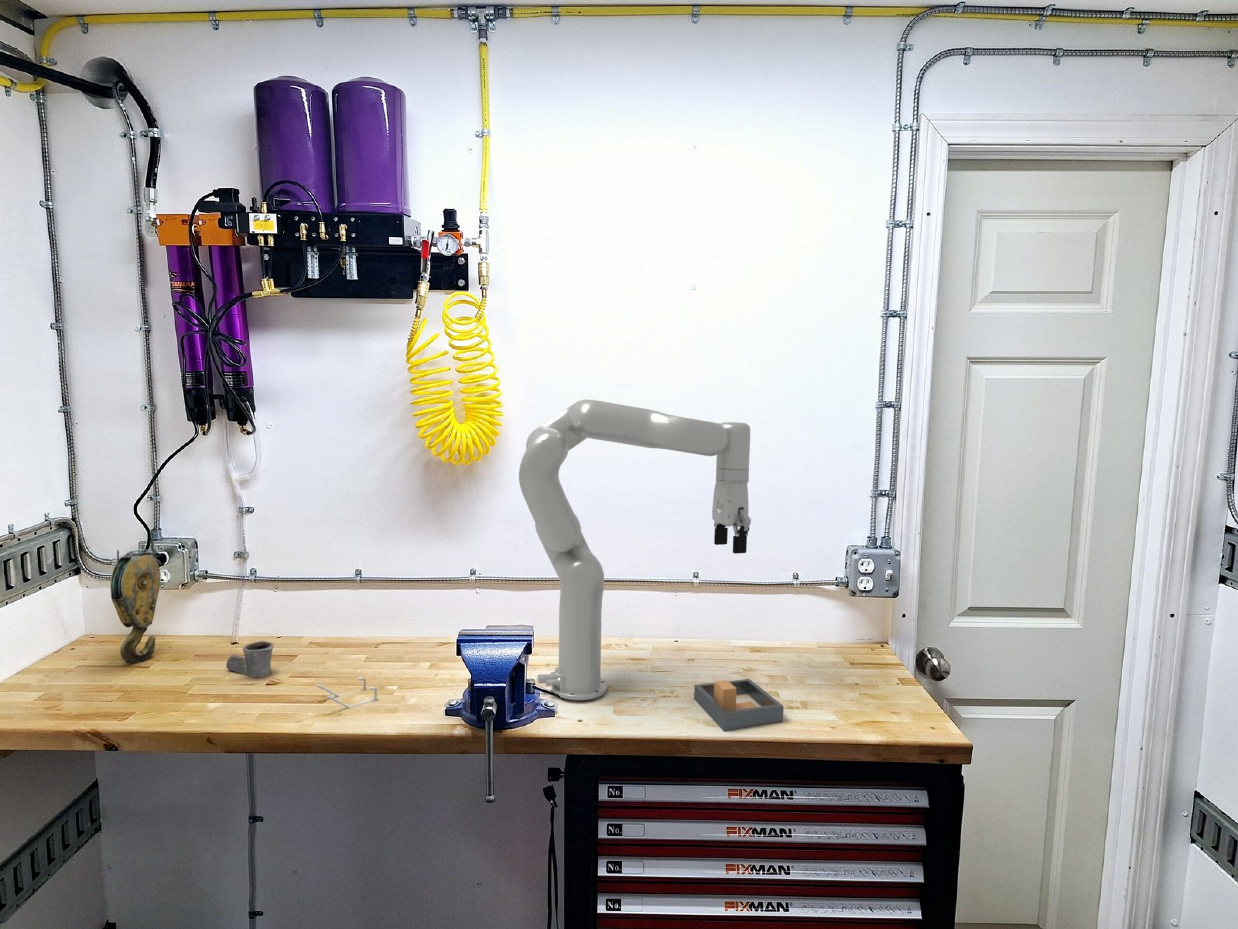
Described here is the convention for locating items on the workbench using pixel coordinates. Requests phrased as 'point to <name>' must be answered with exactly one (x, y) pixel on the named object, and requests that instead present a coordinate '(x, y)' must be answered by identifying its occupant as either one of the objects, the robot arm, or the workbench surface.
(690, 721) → the workbench surface
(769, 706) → the well box
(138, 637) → the pulley block
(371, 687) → the wall mount rack
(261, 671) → the pipe
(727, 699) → the tan stepped block
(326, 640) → the workbench surface
